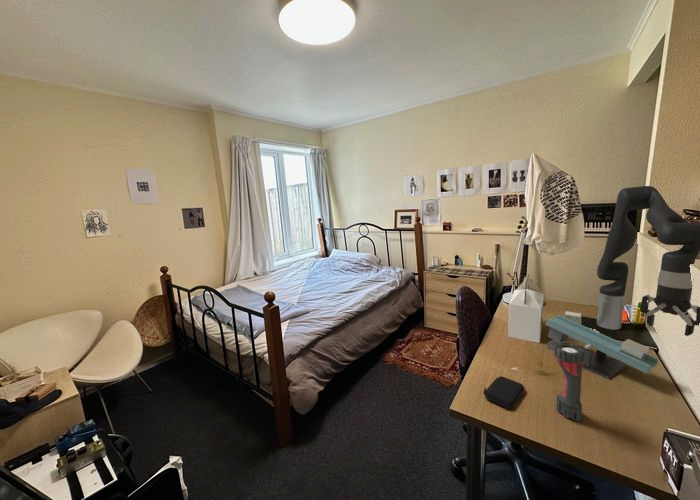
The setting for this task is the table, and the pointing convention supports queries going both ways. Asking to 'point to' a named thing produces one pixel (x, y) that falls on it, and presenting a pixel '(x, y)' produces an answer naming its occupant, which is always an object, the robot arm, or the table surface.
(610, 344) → the seesaw beam
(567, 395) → the flashlight
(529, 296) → the gable box
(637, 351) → the steel slider
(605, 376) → the beam stand
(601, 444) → the table surface
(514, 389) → the carrying case or bag
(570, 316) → the skincare box
